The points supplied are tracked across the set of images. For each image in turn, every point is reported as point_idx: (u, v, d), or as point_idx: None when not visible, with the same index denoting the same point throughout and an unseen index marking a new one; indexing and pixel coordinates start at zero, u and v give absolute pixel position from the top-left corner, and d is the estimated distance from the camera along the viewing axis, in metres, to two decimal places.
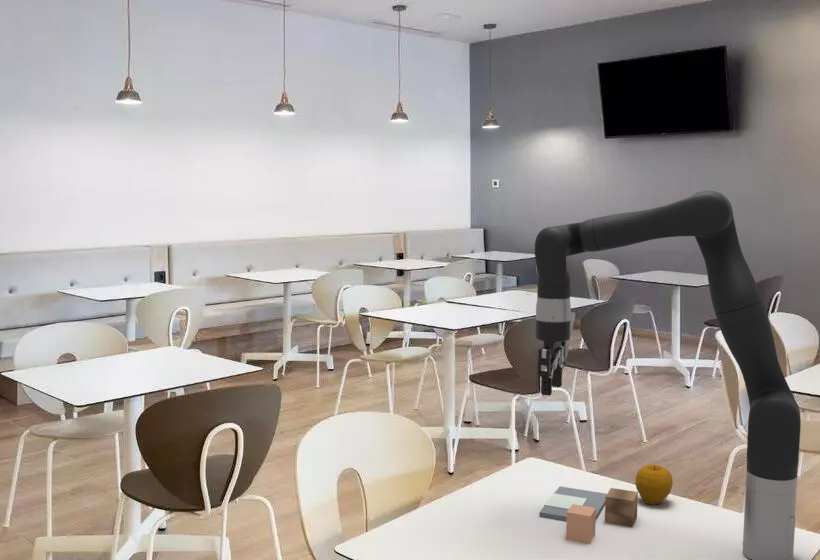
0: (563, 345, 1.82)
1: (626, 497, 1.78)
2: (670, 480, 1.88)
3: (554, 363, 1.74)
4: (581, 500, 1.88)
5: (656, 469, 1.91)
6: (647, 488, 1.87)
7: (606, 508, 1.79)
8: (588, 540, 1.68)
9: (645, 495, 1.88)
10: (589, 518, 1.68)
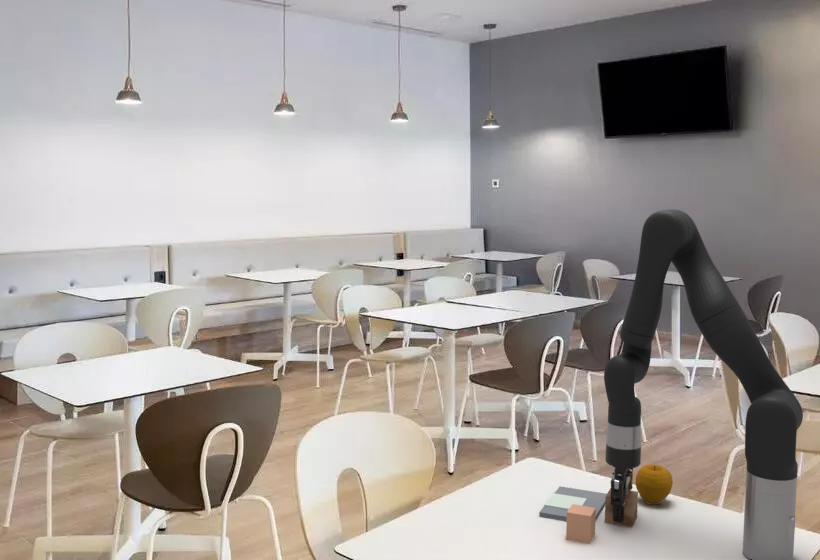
0: (631, 468, 1.84)
1: (627, 496, 1.78)
2: (670, 480, 1.88)
3: (626, 491, 1.76)
4: (581, 500, 1.88)
5: (656, 469, 1.91)
6: (647, 488, 1.87)
7: (606, 508, 1.79)
8: (588, 540, 1.68)
9: (645, 495, 1.88)
10: (589, 518, 1.68)
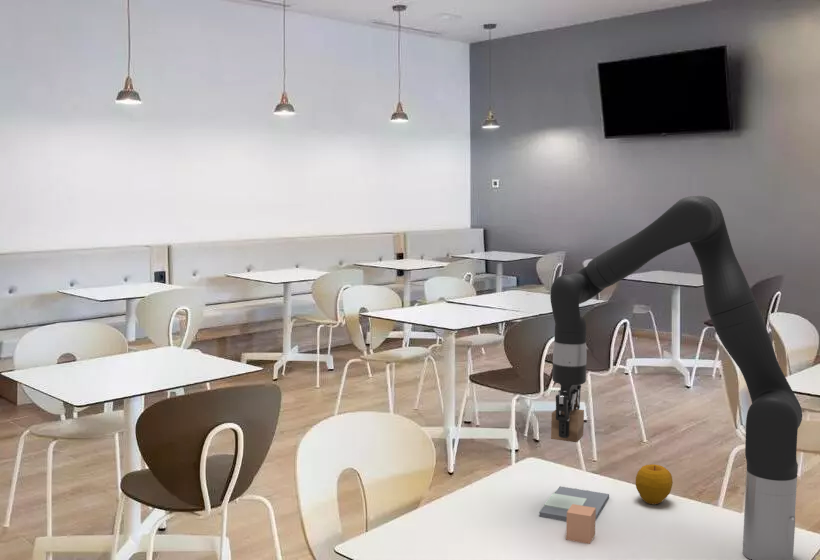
0: (578, 389, 1.90)
1: (572, 413, 1.84)
2: (670, 480, 1.88)
3: (571, 407, 1.82)
4: (581, 500, 1.88)
5: (656, 469, 1.91)
6: (647, 488, 1.87)
7: (552, 424, 1.84)
8: (588, 540, 1.68)
9: (645, 495, 1.88)
10: (589, 518, 1.68)
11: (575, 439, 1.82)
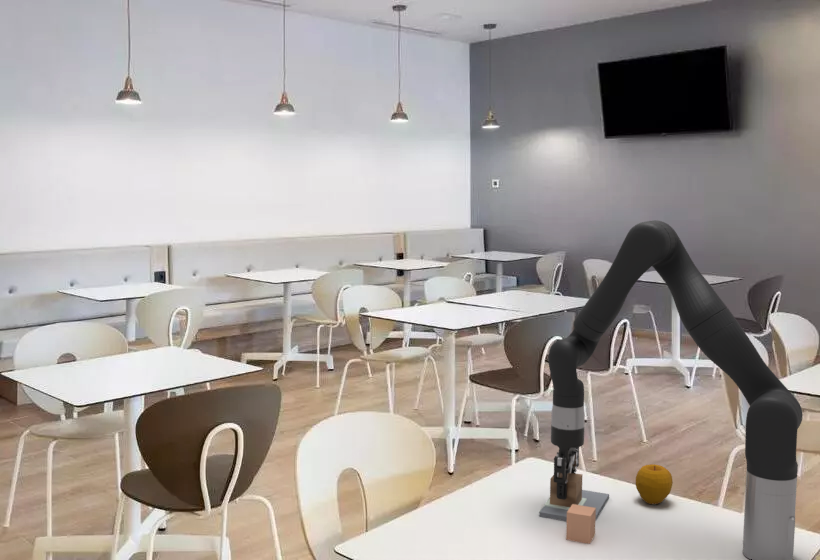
0: (577, 447, 1.91)
1: (571, 479, 1.85)
2: (670, 480, 1.88)
3: (569, 469, 1.83)
4: (581, 500, 1.88)
5: (656, 469, 1.91)
6: (647, 488, 1.87)
7: (551, 490, 1.86)
8: (588, 540, 1.68)
9: (645, 495, 1.88)
10: (589, 518, 1.67)
11: None
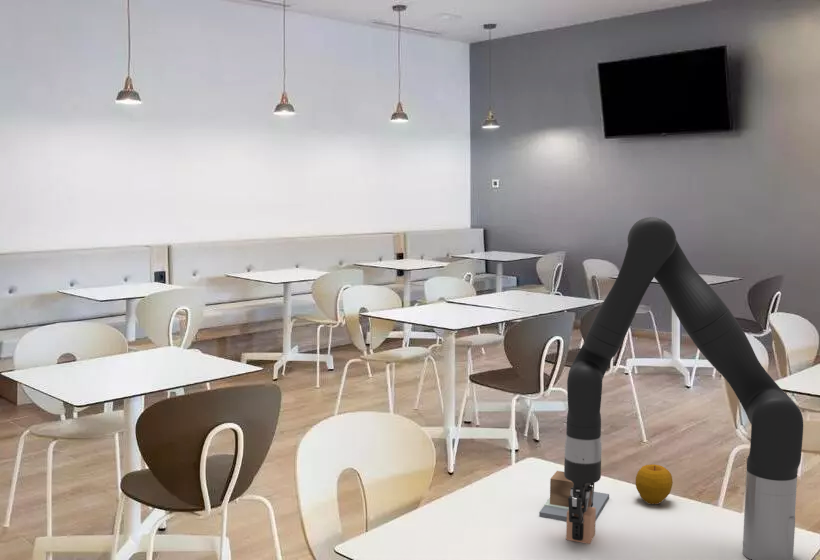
0: (592, 484, 1.75)
1: None
2: (670, 480, 1.88)
3: (585, 507, 1.67)
4: None
5: (656, 469, 1.91)
6: (647, 488, 1.87)
7: (551, 490, 1.86)
8: (588, 540, 1.68)
9: (645, 495, 1.88)
10: (589, 518, 1.67)
11: None
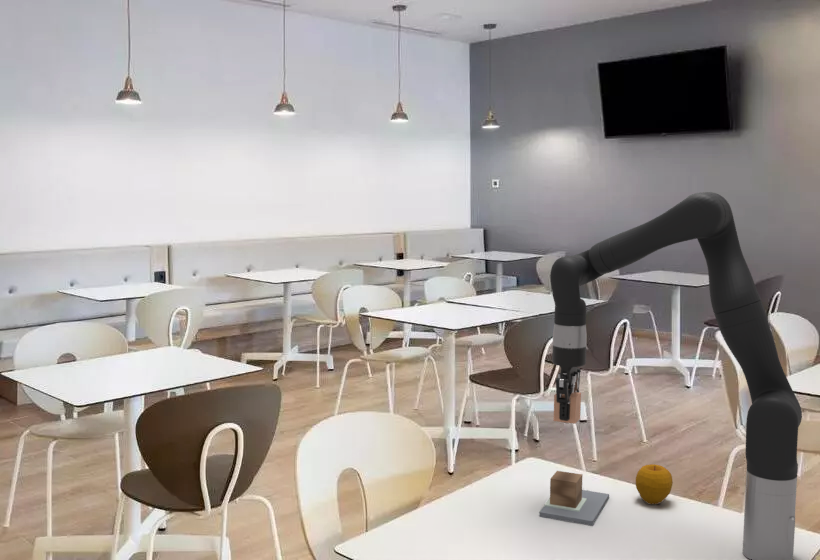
0: None
1: (571, 479, 1.85)
2: (670, 480, 1.88)
3: (571, 389, 1.81)
4: (581, 500, 1.88)
5: (656, 469, 1.91)
6: (647, 488, 1.87)
7: (551, 490, 1.86)
8: (574, 420, 1.82)
9: (645, 495, 1.88)
10: (575, 399, 1.82)
11: (574, 505, 1.84)
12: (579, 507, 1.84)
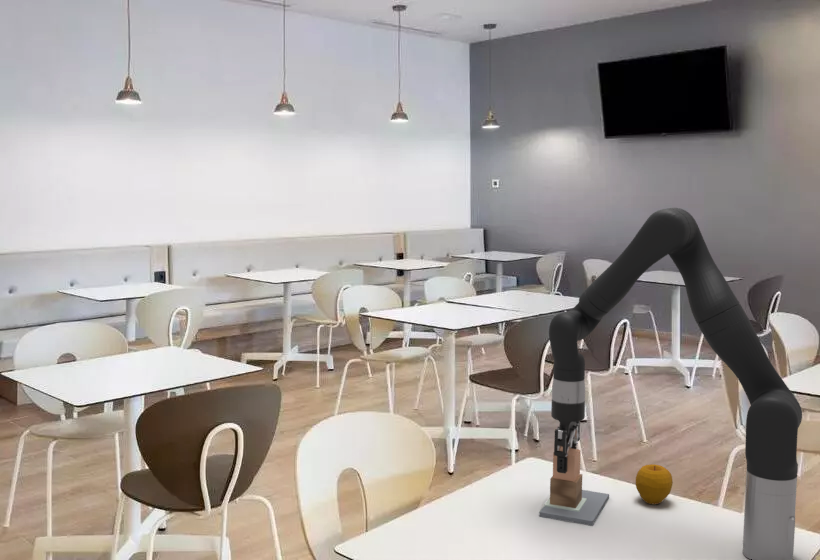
0: (577, 422, 1.91)
1: None
2: (670, 480, 1.88)
3: (569, 442, 1.82)
4: (581, 500, 1.88)
5: (656, 469, 1.91)
6: (647, 488, 1.87)
7: (551, 490, 1.86)
8: (572, 478, 1.84)
9: (645, 495, 1.88)
10: (573, 457, 1.83)
11: (574, 505, 1.84)
12: (579, 507, 1.84)
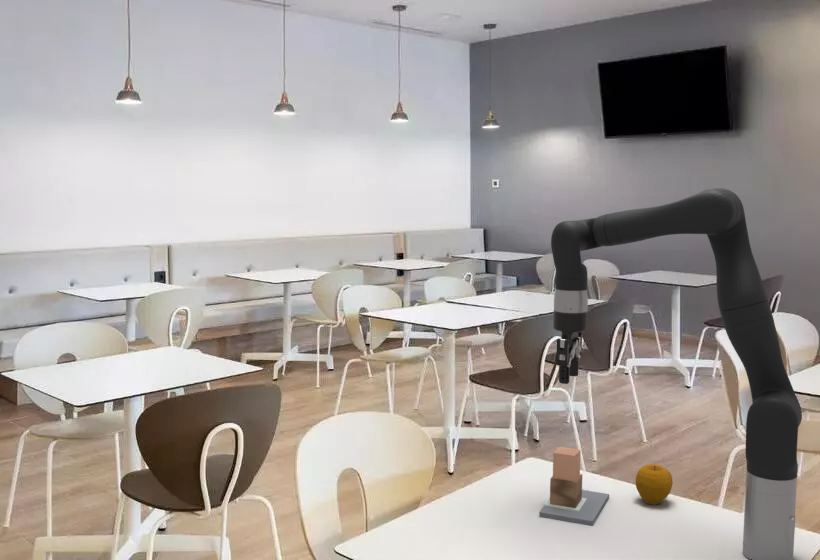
0: (580, 336, 1.88)
1: None
2: (670, 480, 1.88)
3: (572, 353, 1.80)
4: (581, 500, 1.88)
5: (656, 469, 1.91)
6: (647, 488, 1.87)
7: (551, 490, 1.86)
8: (572, 478, 1.84)
9: (645, 495, 1.88)
10: (573, 457, 1.83)
11: (574, 505, 1.84)
12: (579, 507, 1.84)
